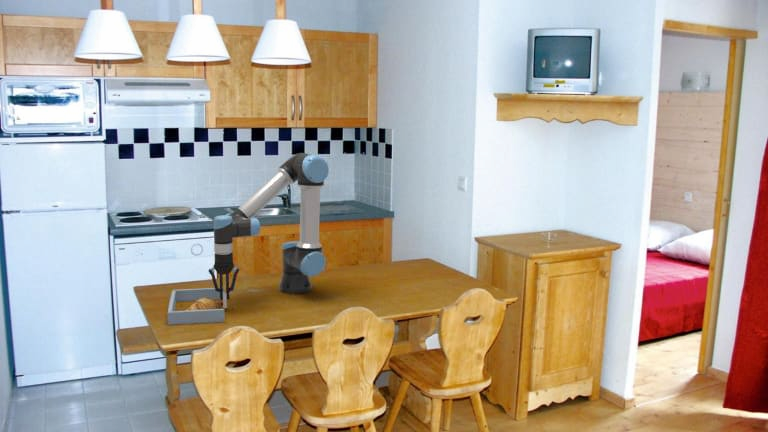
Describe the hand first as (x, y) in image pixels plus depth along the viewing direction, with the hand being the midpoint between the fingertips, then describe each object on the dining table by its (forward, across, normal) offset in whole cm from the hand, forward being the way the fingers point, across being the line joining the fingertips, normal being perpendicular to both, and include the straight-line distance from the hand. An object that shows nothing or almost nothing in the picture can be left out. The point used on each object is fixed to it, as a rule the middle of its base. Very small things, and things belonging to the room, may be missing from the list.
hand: (224, 306), depth 298 cm
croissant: (+2, +9, +4) cm, 10 cm away
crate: (+2, +11, -1) cm, 11 cm away
